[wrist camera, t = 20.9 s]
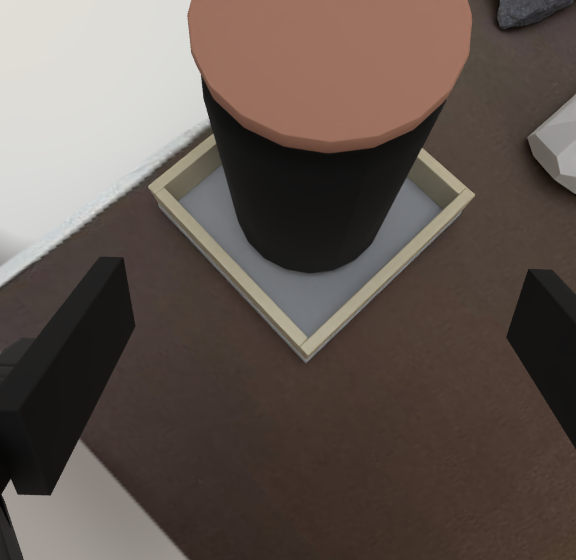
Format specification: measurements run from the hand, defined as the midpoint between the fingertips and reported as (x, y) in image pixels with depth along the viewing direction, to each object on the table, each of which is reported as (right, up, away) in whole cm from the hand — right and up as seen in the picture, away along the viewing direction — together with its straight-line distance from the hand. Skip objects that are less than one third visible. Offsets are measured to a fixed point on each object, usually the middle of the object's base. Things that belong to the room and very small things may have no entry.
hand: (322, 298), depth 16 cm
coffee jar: (0, +6, +19) cm, 20 cm away
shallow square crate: (0, +6, +20) cm, 21 cm away
